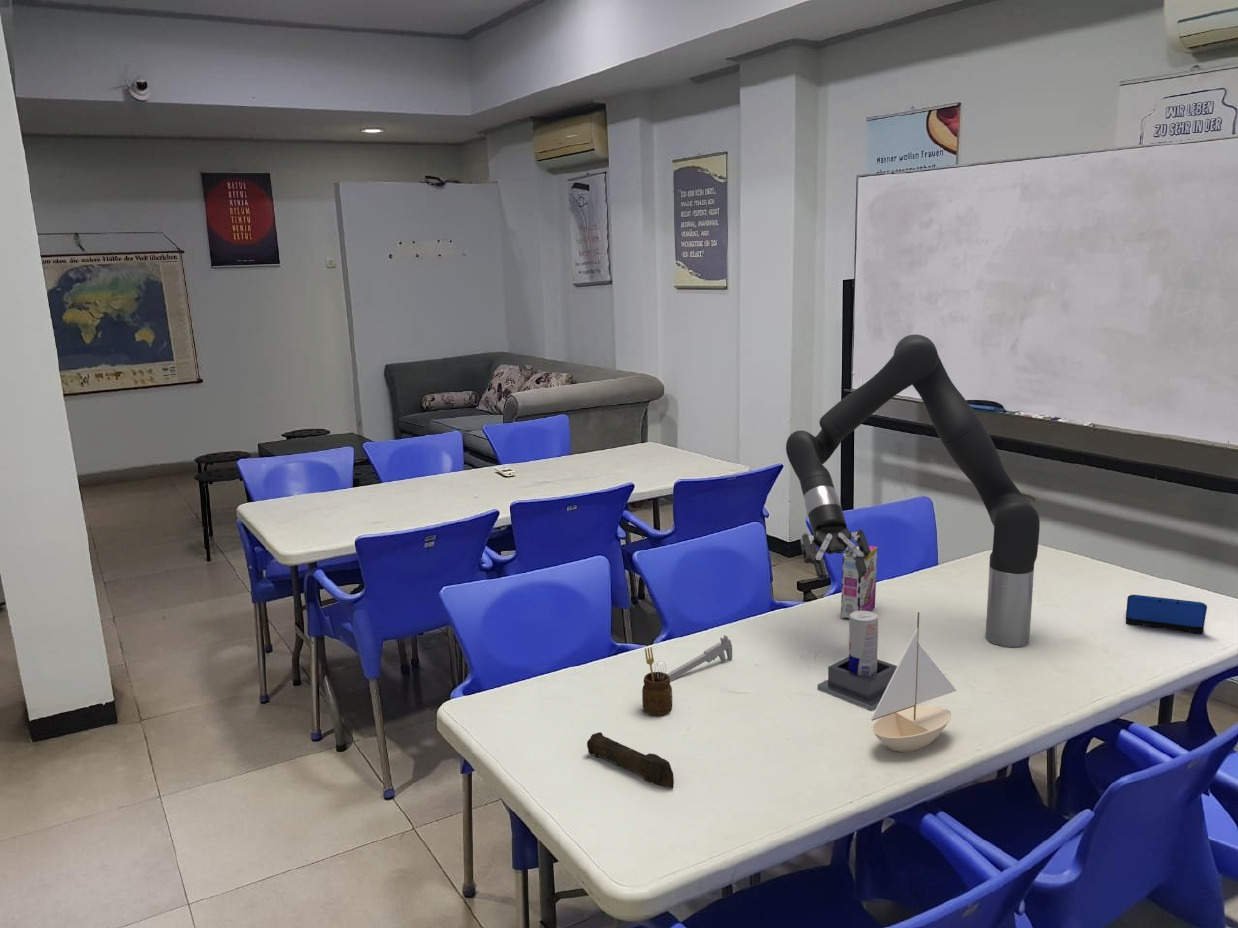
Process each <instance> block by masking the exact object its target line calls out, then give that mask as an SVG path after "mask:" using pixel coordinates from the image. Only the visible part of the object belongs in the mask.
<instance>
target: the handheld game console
mask: <svg viewBox="0 0 1238 928" xmlns="http://www.w3.org/2000/svg"><path fill="white" fill-rule="evenodd" d="M1126 601H1127V602H1126V611H1125V624H1126V625H1129V626H1135V627H1136V626H1137V627H1142V628H1143V627H1145V628H1151V629H1163V630H1164V629H1165V630H1168V631H1173V632H1180V633H1188V634H1193V635H1203V634H1204V628H1205V627H1204V626H1205V623H1206V616H1207V610H1208V605H1207V604H1206V603H1204V602H1201V601H1194V600H1193V601H1192V600H1191V601H1190V600H1186V599H1185V600H1184V599H1178V598H1177V599H1176V598H1167V597H1158V596H1150V595H1139V594H1130V595H1128V596H1127V599H1126Z"/></svg>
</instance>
